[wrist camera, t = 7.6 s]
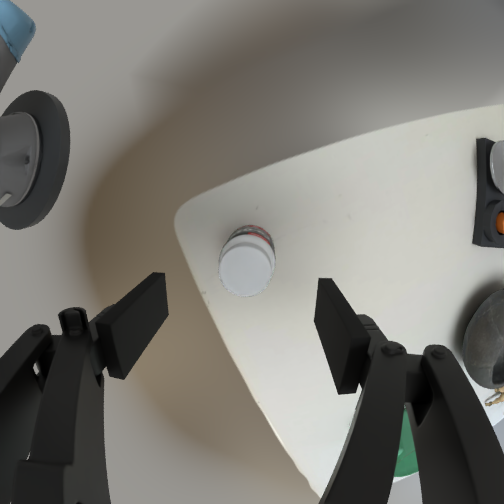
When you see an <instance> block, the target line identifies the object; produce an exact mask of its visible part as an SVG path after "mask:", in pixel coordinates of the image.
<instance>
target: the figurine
mask: <svg viewBox="0 0 504 504" xmlns="http://www.w3.org/2000/svg"><path fill="white" fill-rule="evenodd" d="M498 391H499V392H501V395H500V397H499V398H496V399H495V400H494V401H493V402H489V403H485V405H486V406H491V405H492V404H497V403H499V402H503V401H504V386H503V387H501V388H497V389H495V392H498Z"/></svg>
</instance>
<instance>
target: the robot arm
mask: <svg viewBox="0 0 504 504" xmlns="http://www.w3.org/2000/svg"><path fill="white" fill-rule="evenodd" d="M35 31H36V26H35V23H34V21H33V20H32V19H31V18H30V17H29V16H28V15H27V14H26V13H25V12H24V11H22V10H21V9H20V8H19V7H17V6H16V5H15V4H14V3H13V2H11V1H10V0H0V92H1V90H2V89H3V86H4V85H5V83H6V81H7V79H8V78H9V76H10V74H11V72H12V71H13V69H14V67H15V66H16V64H17V62H18V63H19V62H20V60H21V56H22V54H23V53H24V51H25V49H26V48H27V46H28V44H29V43H30V41H31V40H32V38H33V37H34V34H35ZM42 156H43V135H42V130H41V126H40V124H39V121H38V120H37V118H36V117H35V116H34V115H32V114H30V113H25V112H15V113H11V114H9V115H8V116H2V117H0V206H2V207H12V206H17V205H20V204H21V203H23V202H24V201H25V200H26V199H27V198H28V197H29V195H30V194H31V192H32V190H33V188H34V186H35V184H36V181H37V179H38V176H39V172H40V168H41V163H42ZM168 315H169V314H168V305H167V293H166V282H165V273H157V272H153V273H152V274H151V275H149V276H148V277H147V278H146V279H144V280H143V281H142V282H141V283H140V284H138V285H137V286H136V287H135V288H134V289H133V290H132V291H130V292H129V293H128V294H127V295H126V296H124V297H123V298H122V299H121V300H120V301H118V302H117V303H116V304H113V305H111V306H109V307H107V308H105V309H104V310H103V311H102V312H101V313H99V314H98V315H97V316H96V317H95V318H93V319H92V320H91V321H90V322H89V323H88V319H87V314H86V310H85V309H83V308H80V307H73V308H68V309H65V310H63V311H61V312H60V313H59V314H58V316H59V320H60V324H61V328H62V331H63V333H62V335H51V332H50V328H49V327H48V326H47V325H43V324H42V325H41V324H37V325H34V326H32V327H30V328H29V329H27V330H26V331H25V332H24V333H23V334H22V335H21V336H20V338H19V339H18V340H17V341H16V342H15V343H14V344H13V345H12V346H11V347H10V348H9V350H7V351H6V352H5V354H4V355H3V356H2V357H1V358H0V504H10V502H11V504H111V501H110V495H109V488H108V479H107V470H106V459H105V446H104V445H105V444H104V376H103V373H102V371H103V370H104V368H105V367H107V370H108V373H109V376H110V377H114V378H119V379H122V380H124V379H125V378H126V376H127V375H128V373H129V372H130V370H131V369H132V367H133V366H134V364H135V363H136V361H137V360H138V359H139V357H140V356H141V354H142V352H143V351H144V350H145V348H146V347H147V345H148V344H149V342H150V341H151V340H152V338H153V337H154V335H155V334H156V332H157V331H158V329H159V328H160V327H161V325H162V324H163V322H164V320H165V319H166V318H167V317H168ZM314 323H315V326H316V329H317V331H318V334H319V337H320V340H321V343H322V346H323V349H324V352H325V355H326V358H327V361H328V364H329V367H330V370H331V373H332V377H333V380H334V383H335V386H336V389H337V392H338V395H341V394H352V393H356V391H357V388H358V384H359V383H360V386H361V388H362V391H361V394H360V397H359V400H358V403H357V406H356V409H355V410H356V411H355V414H354V417H353V420H352V423H351V426H350V429H349V432H348V435H347V438H346V441H345V443H344V446H343V449H342V451H341V454H340V457H339V459H338V462H337V464H336V466H335V469H334V471H333V474H332V476H331V478H330V481H329V483H328V485H327V487H326V489H325V492H324V494H323V496H322V498H321V500H320V502H319V504H387V502H388V498H389V494H390V490H391V486H392V482H393V478H394V473H395V468H396V463H397V457H398V452H399V445H400V439H401V431H402V423H403V414H404V403H405V406H406V410H407V414H408V419H409V423H410V427H411V432H412V437H413V442H414V447H415V452H416V458H417V464H418V470H419V477H420V484H421V492H422V502H423V504H504V454H503V451H502V448H501V446H500V443H499V441H498V439H497V436H496V434H495V432H494V430H493V427H492V425H491V423H490V421H489V419H488V417H487V415H486V413H485V410H484V408H483V406H482V404H481V403H480V401H479V399H478V397H477V395H476V393H475V391H474V389H473V387H472V386H471V384H470V382H469V380H468V378H467V377H466V375H465V373H464V371H463V370H462V368H461V366H460V365H459V363H458V361H457V360H456V358H455V356H454V355H453V353H452V352H451V351H450V350H449V349H448V348H446V347H445V346H443V345H442V346H441V345H435V344H434V345H429V346H427V347H426V348H425V349H424V352H423V355H415V354H407V352H406V349H405V347H404V346H403V345H401V344H399V343H397V342H393V341H388V340H387V338H386V337H385V335H384V334H383V333H382V331H381V330H380V329H379V327H378V326H377V325H376V323H375V322H374V320H373V319H372V318H370V317H368V316H367V315H365V314H360V315H356V313H355V312H354V310H353V309H352V307H351V306H350V304H349V303H348V301H347V300H346V299H345V297H344V296H343V294H342V293H341V291H340V290H339V288H338V287H337V285H336V284H335V283H334V281H333V280H332V278H319V280H318V290H317V299H316V308H315V317H314ZM35 363H36V365H37V368H38V370H39V373H38V374H37V375H36V374H35V372H34V369H33V366H34V364H35ZM29 453H30V456H29V459H28V460H26V459H27V457H28V455H29Z"/></svg>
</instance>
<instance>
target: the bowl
mask: <svg viewBox="0 0 504 504" xmlns="http://www.w3.org/2000/svg"><path fill="white" fill-rule="evenodd" d="M463 362H464V365H465V367H466V370H467V372H468V374H469V375H470V377H471V378H472V379H473V380H474V381H475V382H476V383H477V384H479V385H480V386H482V387H484V388H488V389H497V388H500V387H503V386H504V289H502V290H499V291H497V292H495V293H493V294H492V295H490V296H489V297H488V298H487V299H486V300H485V301H484V302H483V303H482V304H481V306H480V307H479V308H478V310H477V311H476V313H475V314H474V316H473V317H472V319H471V321H470V322H469V324H468V326H467V329H466V332H465V336H464V341H463Z"/></svg>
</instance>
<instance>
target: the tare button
mask: <svg viewBox="0 0 504 504" xmlns="http://www.w3.org/2000/svg"><path fill="white" fill-rule="evenodd" d="M496 229H497V231H498V232H499V233H503V234H504V213H502V212H501V213H499V214H498V215H497V218H496Z"/></svg>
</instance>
